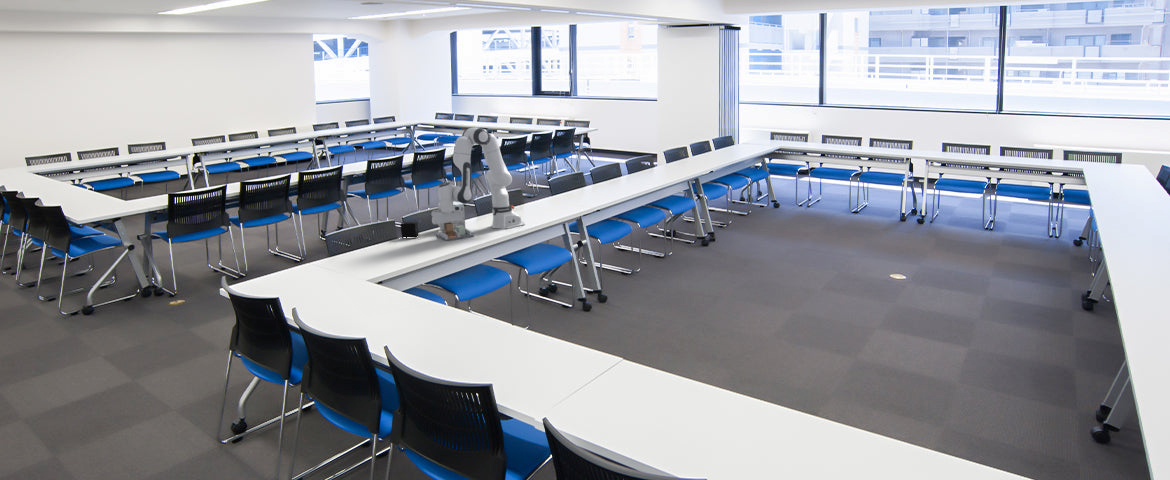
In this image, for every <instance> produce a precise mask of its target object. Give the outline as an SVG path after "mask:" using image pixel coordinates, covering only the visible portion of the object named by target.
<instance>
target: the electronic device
mask: <svg viewBox="0 0 1170 480" xmlns="http://www.w3.org/2000/svg"><path fill="white" fill-rule="evenodd" d="M403 222H404V224H403ZM403 222H401V223H400V231H401V238H402V239H404V238H403V237H406V238H405V239H408V238H407V237H417V236H418V237H419V236H420V235H419V227H418V226H419V225H418V222H416V221H403ZM418 237H417V238H418Z"/></svg>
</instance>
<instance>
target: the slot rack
mask: <svg viewBox="0 0 1170 480" xmlns="http://www.w3.org/2000/svg"><path fill="white" fill-rule="evenodd" d="M465 227H466V226H465ZM465 227H464V226H462V225H459V226H457V228H456V231H455V230H453V233H454V236H449V237H448V235H446V234H445V232H444V231H442V230H438V231H437V232H438V233H437V234H436V236H437V237H438V238H439V239H441V240H442V241H445V242H451V241H456V240H462V239H469V238H474V234H472V233H473V232H472V231H471V230H469V229H468V228H467V227H466V228H465Z"/></svg>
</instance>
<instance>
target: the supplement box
mask: <svg viewBox="0 0 1170 480" xmlns="http://www.w3.org/2000/svg"><path fill="white" fill-rule="evenodd" d="M437 205H438V206H437V207H438V209H440V206H439V203H438V204H437ZM453 205H457V206H460V207H461V211H462V213H463V220H462V221H458V224H457V226H459V225H462V226H464V227H465V228H466V229H467V227H466V217H465V215H466V214H465V208H464V207H465V204H463V203H461V202H457V201H453ZM438 209H437V210H438ZM451 223H452V224H453V230H455V231H456V228H454V225H455V224H456V223H455V222H451ZM440 226H441V227H442V228H443V230H442V231H444V223H443V224H441V225H440Z"/></svg>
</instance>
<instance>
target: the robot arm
mask: <svg viewBox="0 0 1170 480" xmlns="http://www.w3.org/2000/svg"><path fill="white" fill-rule="evenodd" d="M454 144H455V145H454V148H453V153H452V154H453V155H452V161H453V164H454V165H455V166H456V167H457V168H458V169H459V171H460V173H461V186H458V185H454V184H452V183H450V182H443V183H441V184H439V185H438V189H437V192H438V196H437V197H438V199H439V203H438V204H439V206H440V209H433V210H432V211H431V222H432V224H433V225H435V226H436V225H437V226H438V227H439V231H444V230H443V228H442V227H441V226H440V225H441V224H443V223H449V222H455V223H456V224H455V225H454V228H457V224H458V221H462V220H463V213H462V211H461V207H460V206H457V205H453V201H455V202H459V203H462V204H464V205H466V204H469V203H470V202H472V199H473V196H474V194H473V189H472V183H473V182H472V179H473V177H472V176H473V174H472V173H473V172H472V169H473V168H472V164H471V159H472V158H471V157H472V156H471V155H472V148H473V147H474V145H475V146H478V145H480V146H481V148H482V153H483V156H484V160H485V163H486V165H487V166H488V167H489V168H488V170H487V172H486V174H485V179H486V181H487V182H488V186H489V189H490V190H489V191H490V193H491V203H492V206H491V210H492V224H491V227H492V228H493V229H505V230H506V229H507V230H509V229H512V228H517V227H521V226H525V225H526V224H525V222H524V221H522V219H521V216H520V215H521V214H518V213H517V212H516V211H514V209H515V206H514V205H511V204H510V200H509V199H510V198H509V193H508V191H507V188H506V187H509V186H510V185H511V184H512V182H513V176H512V175H511V173H510V171H509V170H508V167H507V166H506V163H505V162H504V160H503V156H502V153H501V149H500V146H499V142H498V140H497V138H496V135H494V134H493V133H489V132H488V131H487V130H486V129H485V128H482V127H468V128H466V129H465V130H464V131H463V132H462V134H461V136H459V137H457V138H456V141H455V143H454Z"/></svg>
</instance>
